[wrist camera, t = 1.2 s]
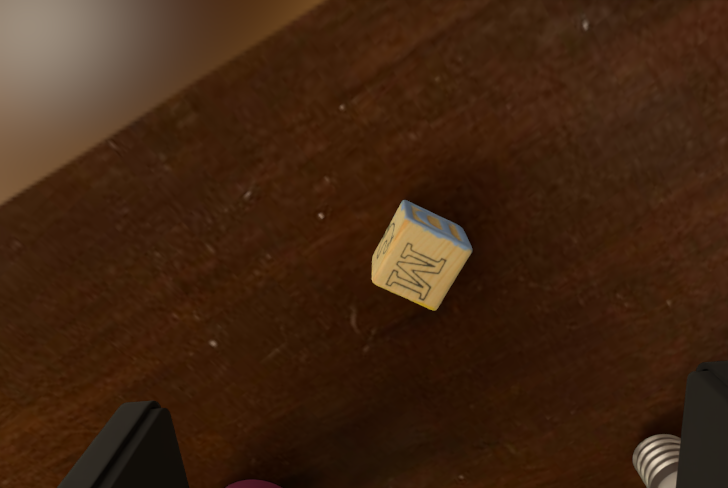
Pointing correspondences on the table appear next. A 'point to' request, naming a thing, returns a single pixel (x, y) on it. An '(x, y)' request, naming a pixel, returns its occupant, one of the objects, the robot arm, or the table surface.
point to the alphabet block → (420, 255)
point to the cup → (253, 484)
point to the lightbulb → (658, 460)
